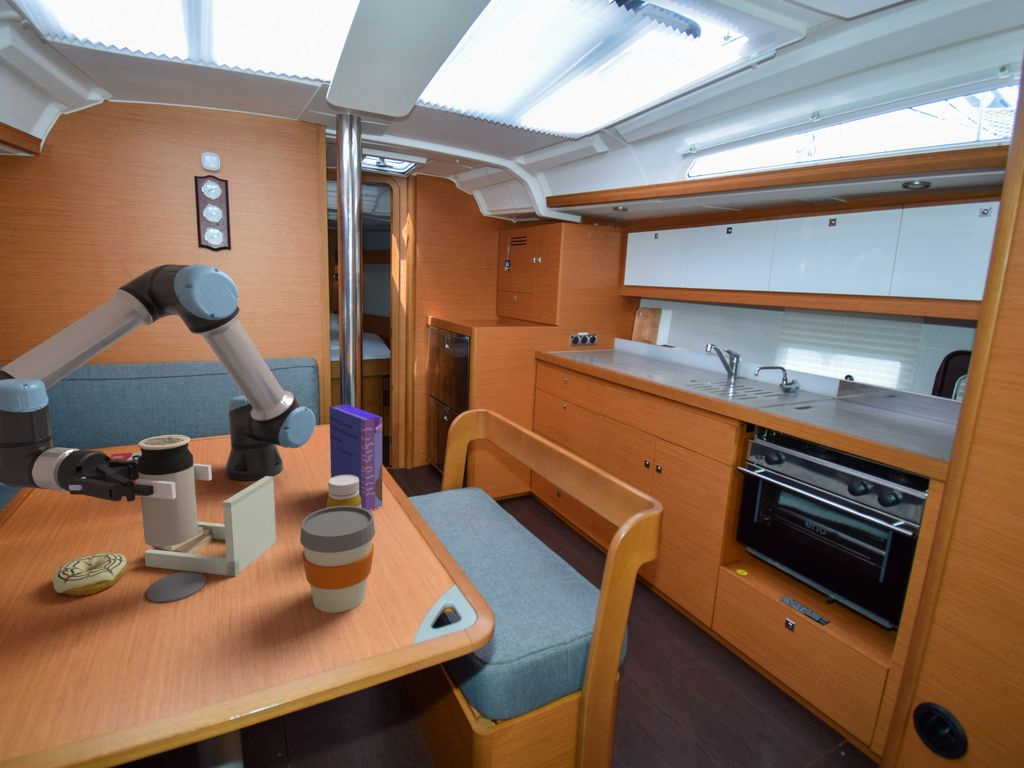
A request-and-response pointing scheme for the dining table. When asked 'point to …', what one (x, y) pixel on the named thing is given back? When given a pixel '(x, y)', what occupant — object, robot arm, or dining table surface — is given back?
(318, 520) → the reusable coffee cup
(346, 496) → the bottle
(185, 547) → the offcut stack
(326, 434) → the dining table surface
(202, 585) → the coaster
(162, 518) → the travel mug
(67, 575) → the decorated donut
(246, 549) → the rack
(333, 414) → the purple rectangular box
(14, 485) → the robot arm
